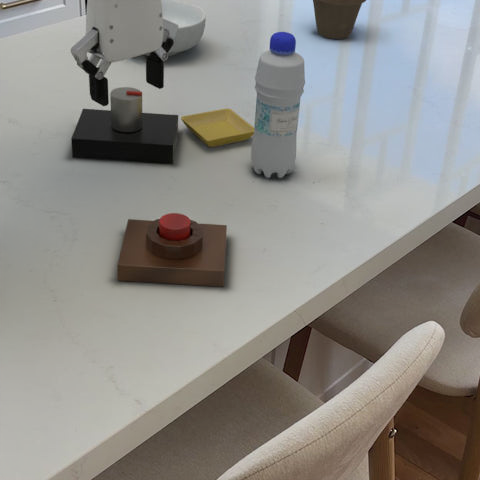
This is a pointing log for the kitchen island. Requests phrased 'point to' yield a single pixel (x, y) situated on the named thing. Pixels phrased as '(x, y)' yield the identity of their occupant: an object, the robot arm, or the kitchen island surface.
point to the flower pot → (336, 17)
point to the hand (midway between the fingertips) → (127, 93)
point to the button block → (173, 255)
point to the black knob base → (125, 138)
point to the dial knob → (126, 109)
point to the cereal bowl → (184, 24)
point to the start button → (174, 227)
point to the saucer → (218, 127)
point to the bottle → (277, 106)
